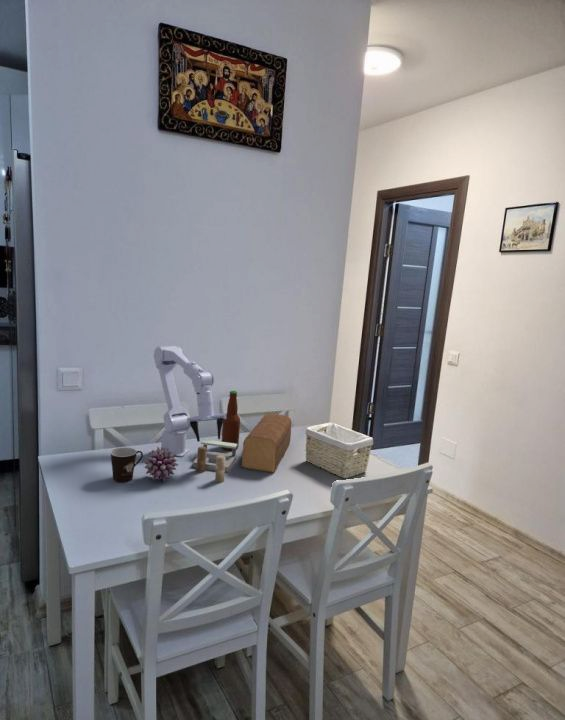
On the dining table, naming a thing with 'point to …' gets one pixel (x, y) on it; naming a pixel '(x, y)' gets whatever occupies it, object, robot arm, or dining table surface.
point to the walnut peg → (201, 459)
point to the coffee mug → (123, 463)
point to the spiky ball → (160, 463)
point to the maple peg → (220, 468)
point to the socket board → (212, 456)
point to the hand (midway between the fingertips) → (208, 440)
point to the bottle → (231, 422)
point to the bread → (267, 443)
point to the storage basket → (338, 449)
